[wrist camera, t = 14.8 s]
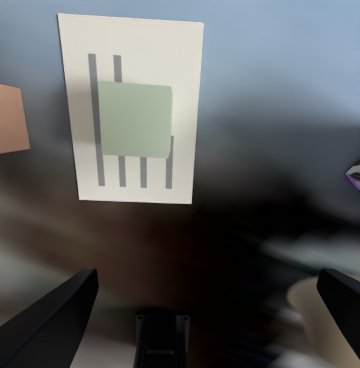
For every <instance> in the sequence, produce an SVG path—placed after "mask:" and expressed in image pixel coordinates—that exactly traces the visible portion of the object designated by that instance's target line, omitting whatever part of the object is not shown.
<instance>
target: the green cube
mask: <svg viewBox="0 0 360 368" xmlns="http://www.w3.org/2000/svg"><path fill="white" fill-rule="evenodd" d="M98 95H99V112H100V129H101V146H102V155H117V156H134V157H151V158H169V154H170V150H171V128H172V107H173V93H172V87H171V86H162V85H148V84H133V83H119V82H105V81H98Z"/></svg>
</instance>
